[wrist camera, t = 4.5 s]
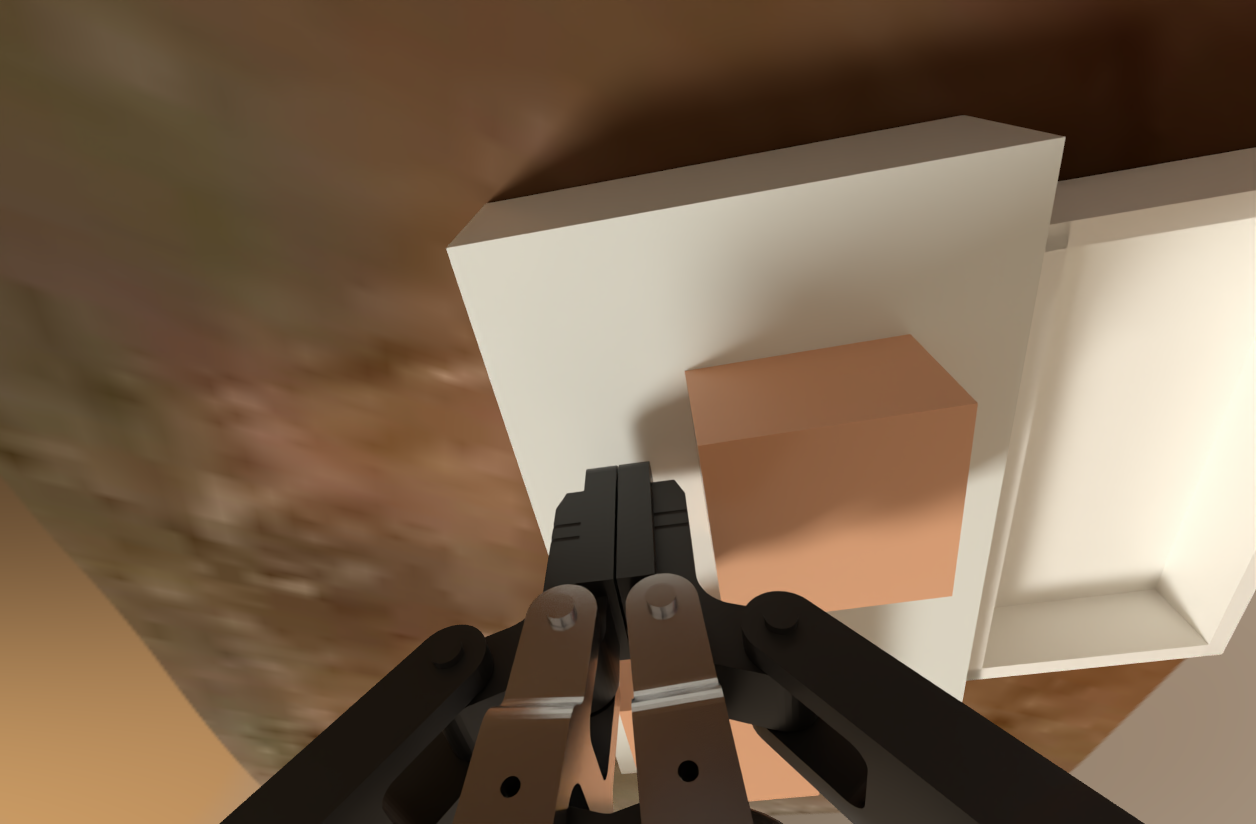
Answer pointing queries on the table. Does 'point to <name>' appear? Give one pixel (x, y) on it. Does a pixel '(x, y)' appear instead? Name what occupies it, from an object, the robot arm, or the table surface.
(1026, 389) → the tray
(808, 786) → the orange square block
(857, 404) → the tile
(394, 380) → the table surface
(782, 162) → the slab
